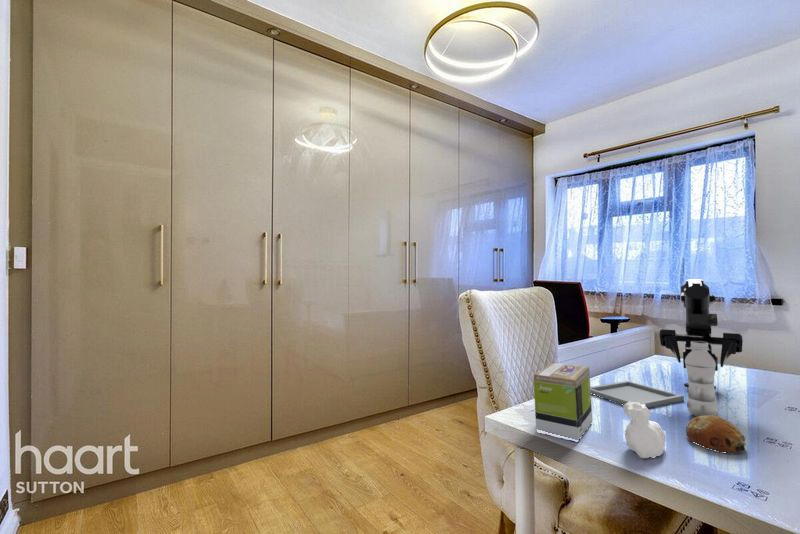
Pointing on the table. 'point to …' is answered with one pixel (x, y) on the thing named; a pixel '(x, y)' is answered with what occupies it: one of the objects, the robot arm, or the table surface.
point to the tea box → (563, 400)
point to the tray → (636, 394)
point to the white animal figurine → (643, 431)
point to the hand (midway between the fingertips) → (700, 364)
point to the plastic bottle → (701, 380)
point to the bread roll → (715, 434)
